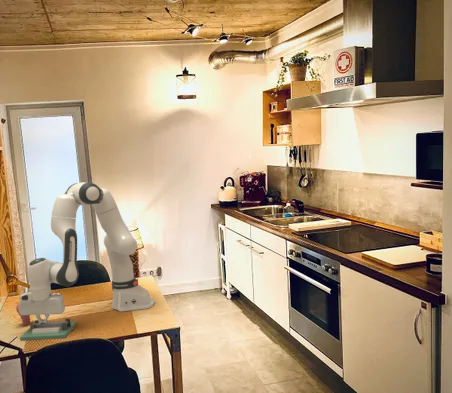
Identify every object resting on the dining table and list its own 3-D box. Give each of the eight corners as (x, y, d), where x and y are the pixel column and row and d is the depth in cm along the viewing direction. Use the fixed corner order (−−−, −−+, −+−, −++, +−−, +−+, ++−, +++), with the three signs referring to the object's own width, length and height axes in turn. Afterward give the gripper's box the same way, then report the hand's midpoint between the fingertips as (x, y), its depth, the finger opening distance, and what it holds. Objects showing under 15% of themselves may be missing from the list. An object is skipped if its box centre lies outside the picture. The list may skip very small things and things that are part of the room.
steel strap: (69, 323, 213) (68, 319, 212) (66, 325, 210) (66, 322, 209) (33, 325, 213) (32, 321, 213) (30, 327, 210) (30, 324, 210)
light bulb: (18, 328, 218) (15, 304, 217) (18, 323, 225) (15, 300, 223) (34, 325, 221) (31, 301, 220) (34, 320, 227) (31, 297, 226)
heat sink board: (77, 324, 219) (76, 314, 219) (64, 338, 203) (63, 327, 203) (35, 326, 220) (34, 316, 219) (20, 340, 204) (19, 329, 203)
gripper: (65, 291, 212) (68, 319, 214) (22, 292, 213) (24, 321, 214) (60, 295, 206) (63, 324, 207) (15, 297, 207) (18, 326, 208)
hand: (43, 323), depth 211 cm, fingers closed, pressing on steel strap
